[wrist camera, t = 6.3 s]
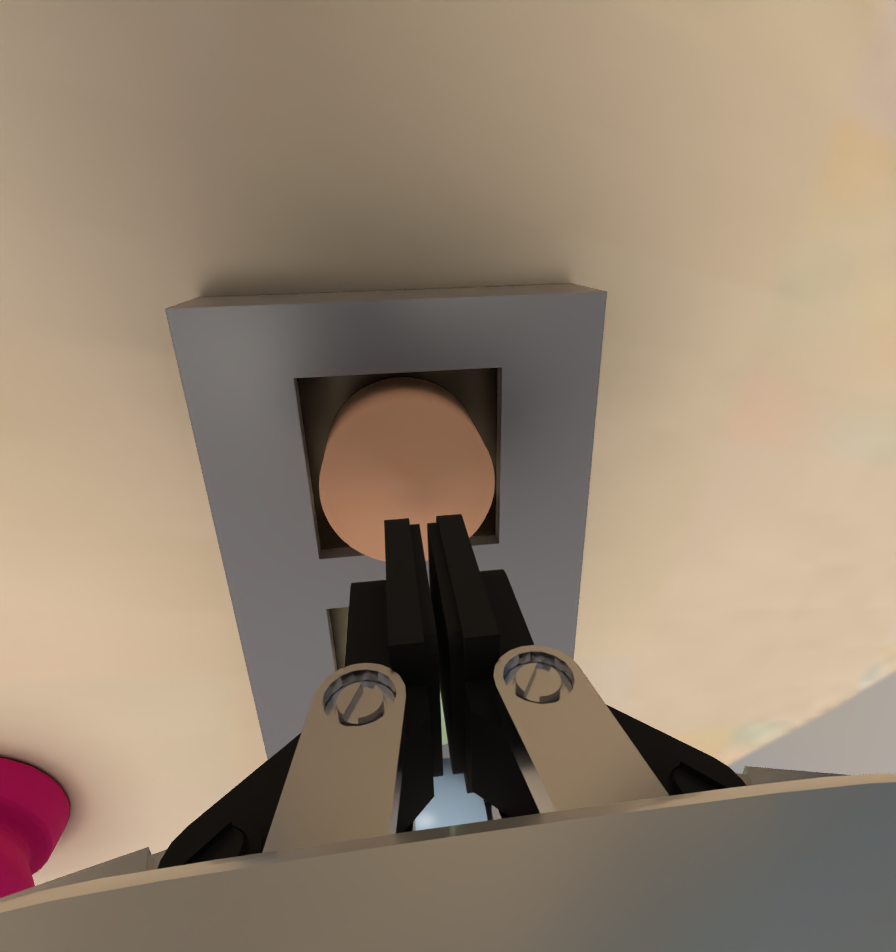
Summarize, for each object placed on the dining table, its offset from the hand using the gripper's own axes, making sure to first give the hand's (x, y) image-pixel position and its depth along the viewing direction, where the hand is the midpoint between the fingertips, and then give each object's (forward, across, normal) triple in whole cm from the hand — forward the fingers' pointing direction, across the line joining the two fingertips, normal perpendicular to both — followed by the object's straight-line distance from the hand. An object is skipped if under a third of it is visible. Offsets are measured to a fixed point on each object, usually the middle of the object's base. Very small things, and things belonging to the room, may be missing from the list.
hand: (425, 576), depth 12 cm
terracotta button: (+7, 0, 0) cm, 7 cm away
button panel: (+9, 0, +8) cm, 12 cm away
